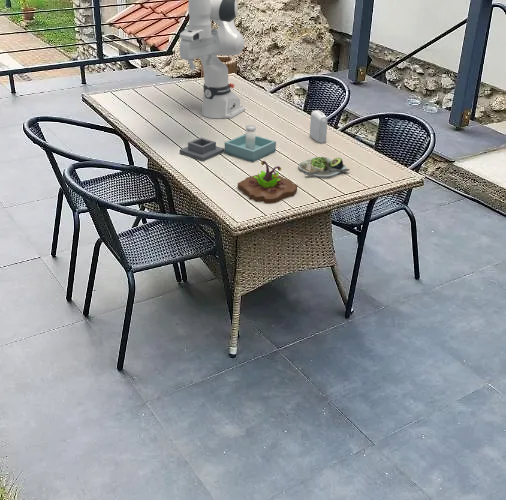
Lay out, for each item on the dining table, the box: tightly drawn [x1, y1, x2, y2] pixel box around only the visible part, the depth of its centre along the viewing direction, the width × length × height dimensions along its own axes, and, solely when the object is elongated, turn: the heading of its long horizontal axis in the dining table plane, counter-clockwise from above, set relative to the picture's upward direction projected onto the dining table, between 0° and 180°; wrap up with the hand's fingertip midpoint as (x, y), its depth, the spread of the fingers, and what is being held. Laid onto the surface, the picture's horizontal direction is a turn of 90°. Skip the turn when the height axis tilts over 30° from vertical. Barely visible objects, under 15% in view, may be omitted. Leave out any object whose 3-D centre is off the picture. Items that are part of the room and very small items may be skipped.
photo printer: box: [309, 109, 328, 144], centre depth 282 cm, size 10×4×12 cm, turn 20°
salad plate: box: [297, 156, 351, 178], centre depth 255 cm, size 19×18×5 cm
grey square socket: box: [179, 137, 225, 162], centre depth 268 cm, size 13×13×4 cm
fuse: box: [245, 124, 257, 150], centre depth 267 cm, size 4×4×10 cm
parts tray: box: [224, 133, 277, 163], centre depth 269 cm, size 15×15×4 cm
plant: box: [237, 160, 298, 205], centre depth 236 cm, size 20×20×11 cm
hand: (200, 67), depth 266 cm, fingers open, 8 cm apart
